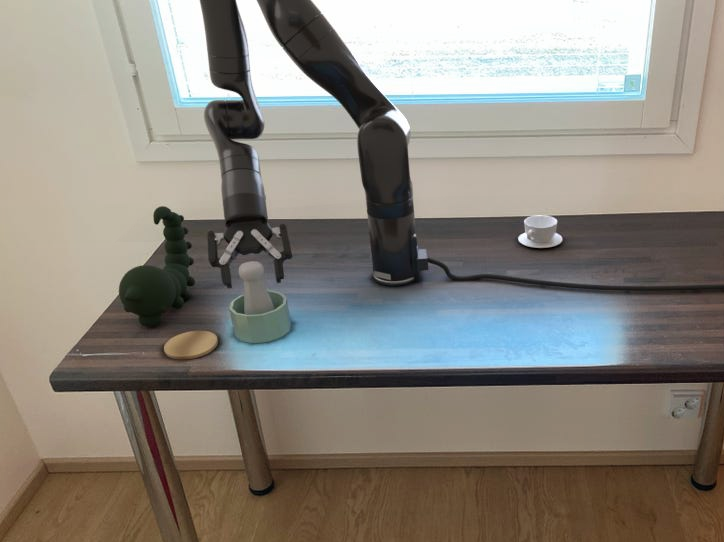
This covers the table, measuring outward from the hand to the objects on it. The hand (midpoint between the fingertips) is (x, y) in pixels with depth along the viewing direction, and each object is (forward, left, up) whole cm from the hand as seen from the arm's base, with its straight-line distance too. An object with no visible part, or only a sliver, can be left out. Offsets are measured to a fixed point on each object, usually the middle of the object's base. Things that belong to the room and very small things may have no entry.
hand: (254, 284), depth 132 cm
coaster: (+12, +5, -9) cm, 15 cm away
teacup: (-58, -30, -9) cm, 66 cm away
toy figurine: (+19, -10, -9) cm, 24 cm away
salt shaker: (0, +1, -9) cm, 9 cm away
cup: (0, +1, -9) cm, 9 cm away
